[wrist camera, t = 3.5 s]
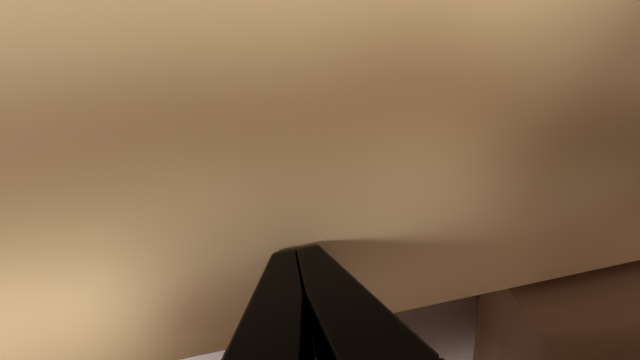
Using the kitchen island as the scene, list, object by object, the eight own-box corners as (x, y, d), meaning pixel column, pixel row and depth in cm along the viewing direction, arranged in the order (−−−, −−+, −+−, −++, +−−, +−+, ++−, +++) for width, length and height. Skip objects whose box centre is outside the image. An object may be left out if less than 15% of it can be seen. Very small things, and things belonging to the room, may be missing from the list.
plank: (692, 196, 11) (755, 235, 10) (-160, 371, 10) (-224, 446, 8) (853, -220, 7) (997, -250, 6) (-603, -43, 5) (-877, -28, 4)
